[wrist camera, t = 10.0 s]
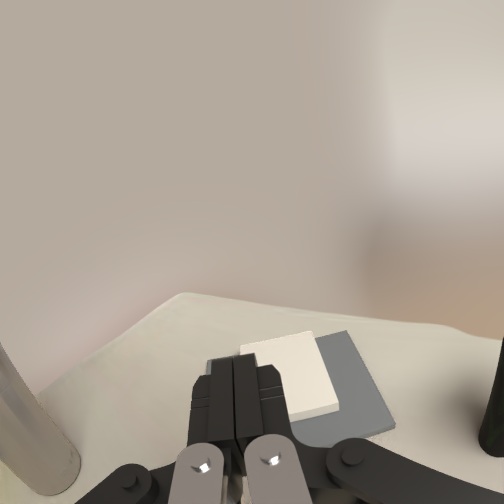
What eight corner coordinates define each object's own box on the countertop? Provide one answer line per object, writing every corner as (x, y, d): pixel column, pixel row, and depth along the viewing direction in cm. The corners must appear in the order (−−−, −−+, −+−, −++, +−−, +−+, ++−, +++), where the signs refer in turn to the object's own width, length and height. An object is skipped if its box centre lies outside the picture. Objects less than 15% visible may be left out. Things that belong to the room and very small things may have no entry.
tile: (243, 422, 30) (239, 345, 43) (246, 431, 30) (242, 353, 43) (338, 402, 29) (311, 330, 43) (339, 411, 30) (312, 338, 43)
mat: (202, 469, 27) (199, 465, 26) (209, 364, 44) (207, 360, 43) (394, 428, 26) (395, 423, 26) (346, 334, 43) (346, 330, 43)
